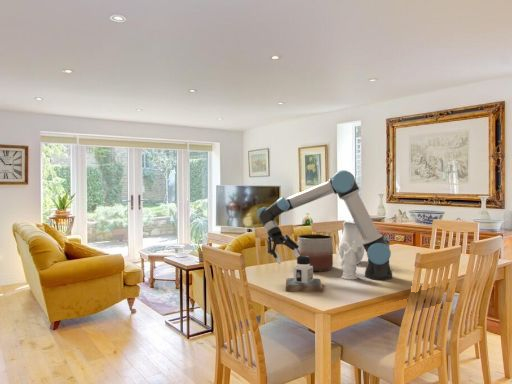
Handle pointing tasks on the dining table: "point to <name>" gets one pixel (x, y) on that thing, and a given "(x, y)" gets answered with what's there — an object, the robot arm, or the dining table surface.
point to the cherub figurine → (349, 259)
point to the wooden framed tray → (304, 285)
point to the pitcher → (351, 238)
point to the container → (303, 270)
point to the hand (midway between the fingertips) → (290, 260)
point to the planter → (317, 250)
